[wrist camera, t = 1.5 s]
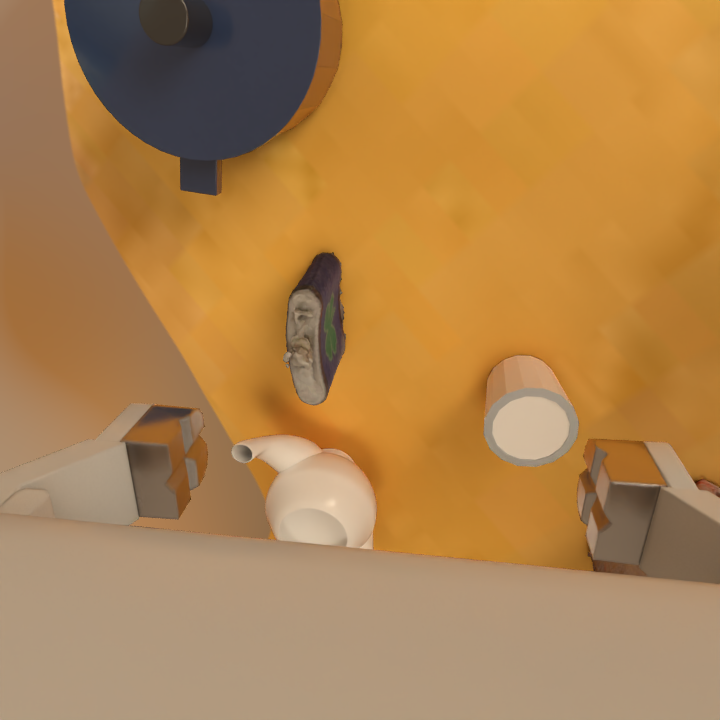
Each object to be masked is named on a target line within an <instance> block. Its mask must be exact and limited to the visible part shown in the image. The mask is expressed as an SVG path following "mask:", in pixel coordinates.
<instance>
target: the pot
mask: <svg viewBox="0 0 720 720" xmlns="http://www.w3.org/2000/svg"><path fill="white" fill-rule="evenodd" d="M321 2H322V14H323V38H322V47H321V54H320V60H319V64H318V67H317V71H316V75H315V78H314V81H313V83H312V86H311V88H310V91H309V93H308V95H307V97H306V99H305V101H304V102H303V104H302V106H301V108H300V109H299V111H298V112H297V113H296V115H295V116H294V117H293V119H292V120H291V122H290V123H289V124H288V125H287V126H286V127H285V128H284V129H283V130H282V131H281V132H280V133H282V132H285V131H288V130H291V129H292V128H294V127H295V126H296V125H297V124H299V123H300V122H301V121H302V120H304V119H305V118H306V117H308V116H309V115H310V114H311V113H312V112H313V111H314V110H315V109H316V108H317V107H318V106H319V105H320V104H321V102H322V100H323V98H324V97H325V95H326V93H327V92H328V90H329V88H330V86H331V84H332V82H333V79H334V77H335V74H336V72H337V70H338V66H339V60H340V54H341V48H342V25H343V24H342V18H341V13H340V7H339V2H338V0H321ZM180 189H181V190H183V191H189V192H195V193H202V194H208V195H215V196H216V195H218V194H220V193H221V190H222V160H213V161H201V160H190V159H186V158H181V157H180Z"/></svg>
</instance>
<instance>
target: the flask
mask: <svg viewBox="0 0 720 720" xmlns="http://www.w3.org/2000/svg"><path fill="white" fill-rule="evenodd" d="M341 280H342V279H341V263H340V261H339V260H338V259H337V257H336V256H334V253H321V254H318V255H316V257H315V258H314V260H313V262H312V264H311V265H310V266H309V268H308V269H307V271H306V273H305V275H304V276H303V278H302V279H301V280H300V281H299V283H298V285H297V287H296V288H295V289H294V290H293V291H292V293H291V295H290V297H289V301H288V311H287V323H286V342H287V343H286V347H287V352H286V353H285V354H284V357H283V361H284V362H286V363H287V362H289V365H290V370H291V374H292V378H293V383H294V386H295V388H296V392H297V394H298V396H299V398H300V399H301V401H303V402H304V403H307V404H310V405H318V404H320V403H322V402H324V401H325V400H326V398H327V395H328V392H329V389H330V386H331V384H332V381H333V377H334V375H335V372H336V370H337V367H338V365H339V363H340V360H341V358H342V355H343V354H344V351H345V339H346V334H344V332H343V320H344V313H345V312H344V310H343V308H344V307H343V306H342V303H341V301H340V295H341V294H342V292H341V290H340V281H341ZM289 365H288V364H286V367H287V368H289Z"/></svg>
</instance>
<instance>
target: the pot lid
mask: <svg viewBox="0 0 720 720" xmlns="http://www.w3.org/2000/svg"><path fill="white" fill-rule="evenodd" d="M64 5H65V12H66V19H67V26H68V30H69V34H70V38H71V42H72V45H73V48H74V51H75V54H76V57H77V59H78V62H79V64H80V66H81V68H82V71H83V73H84V75H85V77H86V79H87V81H88V82H89V84H90V86H91V87H92V89H93V91H94V92H95V94H96V95H97V97H98V98H99V99H100V101H101V102H102V103H103V105H104V106H105V107H106V109H107V110H108V111H109V112H110V113H111V114H112V115H113V116H114V117H115V118H116V120H117V121H118V122H119V123H120V124H122V125H123V126H124V127H125V128H126V129H127V130H129V131H130V132H131V133H132V134H133V135H135V136H136V137H138V138H139V139H141V140H142V141H144V142H145V143H147V144H149V145H151V146H153V147H155V148H156V149H158V150H160V151H163V152H166V153H168V154H171V155H174V156H177V157H181V158H186V159H190V160H201V161H213V160H224V159H229V158H233V157H237V156H240V155H243V154H245V153H248V152H251V151H253V150H255V149H257V148H259V147H260V146H262V145H264V144H266V143H267V142H269V141H270V140H271V139H272V138H274V137H275V136H276V135H278V134H279V133H280V132H281V131H282V130H283V129H284V128H285V127H286V126H287V125H288V124H289V123H290V122H291V120H292V119H293V117H294V116H295V115H296V113H297V112H298V111H299V109H300V108H301V106H302V104H303V102H304V101H305V99H306V97H307V95H308V93H309V91H310V88H311V86H312V83H313V81H314V78H315V75H316V71H317V67H318V64H319V60H320V54H321V47H322V38H323V14H322V2H321V0H64Z"/></svg>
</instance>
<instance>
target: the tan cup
mask: <svg viewBox="0 0 720 720" xmlns="http://www.w3.org/2000/svg"><path fill="white" fill-rule="evenodd" d="M578 426H579V421H578V418H577V415H576V413H575V410H574V407H573V405H572V404H571V402H570V400H569V399H568V397H567V395H566V393H565V392H564V390H563V388H562V387H561V385H560V383H559V381H558V380H557V378H556V376H555V375H554V373H553V371H552V370H551V368H550V367H549V366H547V365H546V364H545V363H544V362H543V361H542V360H540V359H537V358H535V357H532V356H519V355H516V356H513V357H510V358H507V359H504V360H503V361H501V362H500V363H499V364H498V365H497V366H495V367H494V368H493V370H492V372H491V373H490V375H489V377H488V381H487V394H486V406H485V419H484V436H485V439H486V441H487V443H488V446H489V448H490V449H491V450H492V451H493V452H494V453H495V454H496V455H497V456H498V457H500V458H501V459H502V460H504V461H507V462H509V463H512V464H514V465H517V466H532V467H537V466H540V465H544V464H547V463H551V462H554V461H555V460H557V459H558V458H560V457H561V456H563V455H564V454H565V453H567V452H568V451H569V449H570V448H571V446H572V445H573V443H574V442H575V440H576V439H577V434H578Z"/></svg>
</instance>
